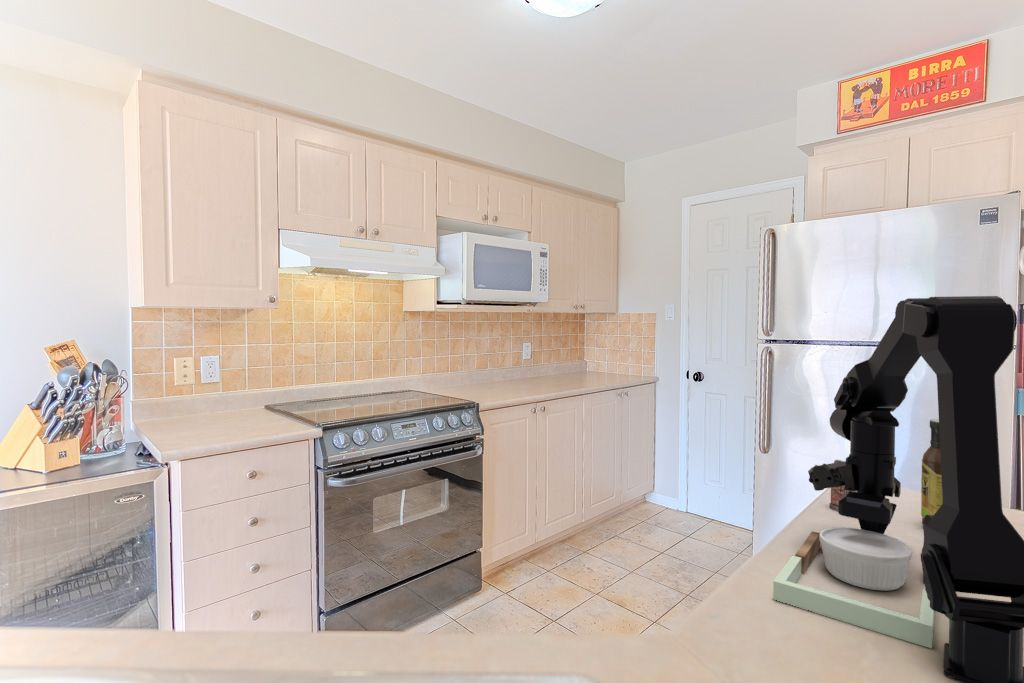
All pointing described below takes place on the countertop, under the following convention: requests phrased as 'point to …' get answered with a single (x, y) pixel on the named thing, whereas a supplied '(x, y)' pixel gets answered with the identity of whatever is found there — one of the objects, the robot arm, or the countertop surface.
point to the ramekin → (865, 558)
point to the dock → (854, 608)
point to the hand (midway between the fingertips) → (870, 549)
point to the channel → (810, 551)
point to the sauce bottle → (931, 474)
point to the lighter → (837, 494)
